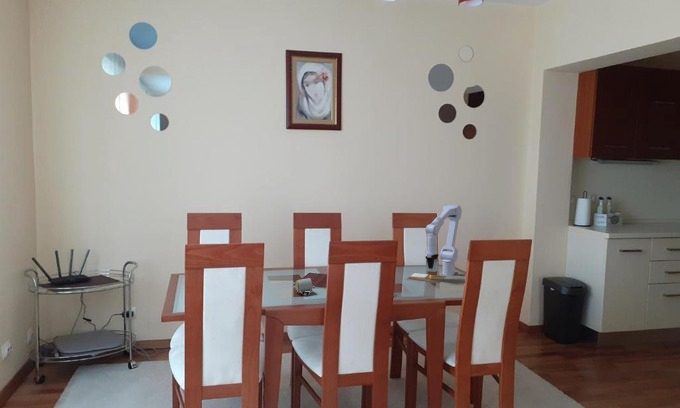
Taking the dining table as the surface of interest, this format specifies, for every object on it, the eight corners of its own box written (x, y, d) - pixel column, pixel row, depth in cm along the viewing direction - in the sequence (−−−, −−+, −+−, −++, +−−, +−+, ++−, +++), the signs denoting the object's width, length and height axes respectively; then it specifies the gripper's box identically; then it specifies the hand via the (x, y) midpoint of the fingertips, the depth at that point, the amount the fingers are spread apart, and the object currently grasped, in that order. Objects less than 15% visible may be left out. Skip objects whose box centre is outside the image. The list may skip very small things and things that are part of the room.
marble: (429, 278, 281) (429, 273, 281) (434, 279, 280) (434, 274, 279) (428, 279, 278) (428, 274, 278) (433, 280, 277) (433, 275, 277)
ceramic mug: (294, 291, 256) (294, 277, 255) (309, 290, 258) (309, 276, 258) (299, 297, 246) (299, 282, 245) (314, 295, 248) (314, 281, 248)
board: (414, 274, 296) (414, 273, 296) (446, 277, 287) (446, 276, 287) (405, 281, 279) (405, 279, 279) (439, 284, 271) (439, 282, 271)
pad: (414, 273, 294) (414, 273, 294) (428, 275, 290) (428, 274, 290) (410, 276, 286) (410, 276, 286) (424, 278, 282) (424, 277, 282)
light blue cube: (428, 268, 282) (428, 259, 282) (437, 269, 280) (438, 259, 279) (425, 270, 277) (425, 260, 277) (435, 271, 275) (435, 261, 274)
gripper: (428, 242, 285) (428, 264, 287) (422, 246, 272) (422, 269, 273) (440, 243, 283) (439, 265, 284) (434, 247, 269) (434, 270, 271)
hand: (431, 267), depth 278 cm, fingers closed on light blue cube, 6 cm apart
